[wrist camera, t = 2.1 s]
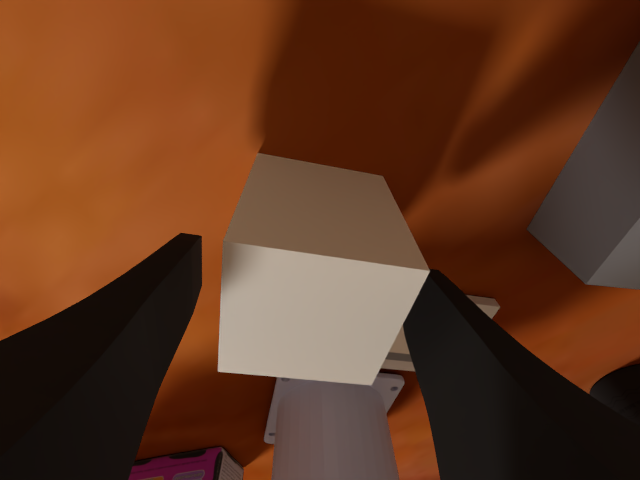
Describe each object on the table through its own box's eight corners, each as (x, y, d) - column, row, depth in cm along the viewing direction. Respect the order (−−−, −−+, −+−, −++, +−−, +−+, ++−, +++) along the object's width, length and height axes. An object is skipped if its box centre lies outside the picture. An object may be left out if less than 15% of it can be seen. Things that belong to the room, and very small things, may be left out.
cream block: (351, 270, 16) (371, 385, 11) (248, 255, 15) (217, 371, 10) (382, 175, 13) (430, 270, 8) (257, 152, 12) (223, 241, 7)
